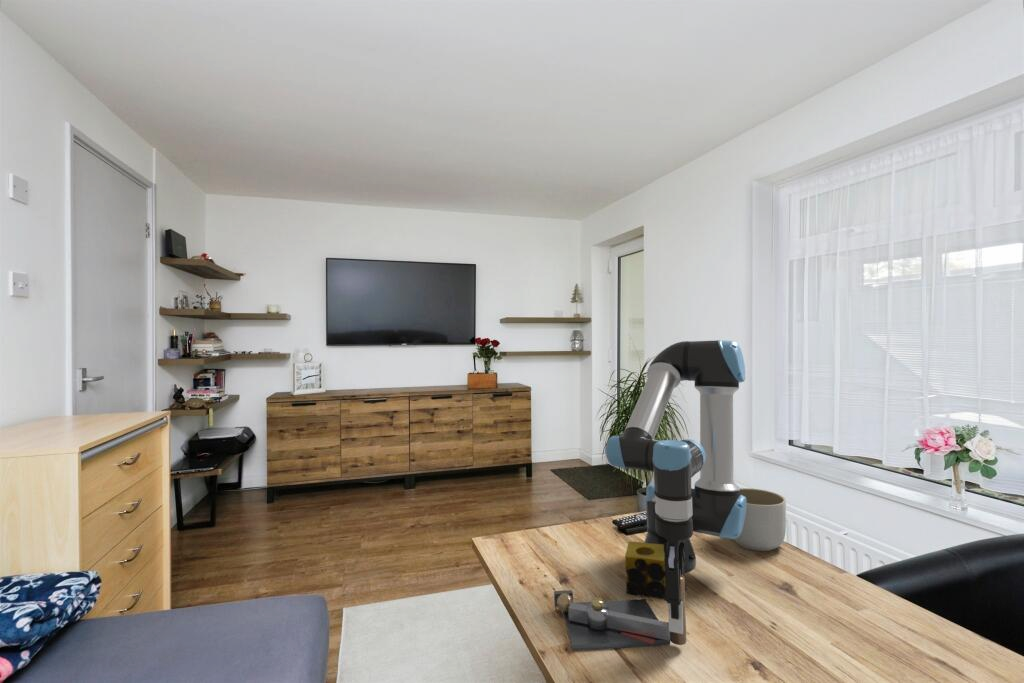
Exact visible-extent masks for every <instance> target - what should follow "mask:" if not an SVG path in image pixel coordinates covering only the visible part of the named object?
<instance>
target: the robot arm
mask: <svg viewBox="0 0 1024 683" xmlns="http://www.w3.org/2000/svg"><path fill="white" fill-rule="evenodd" d="M646 376H647V379H646V382H645V384H644V385H643V389H642V390H641V393H640V395H639V397H638V399H637V401H636V404H635V406H634V408H633V410H632V413H631V415H630V417H629V420H628V421H627V424H626V427H625V429H624V431H623V433H622V435H612V436H611V437H609V438H608V439H607V443H606V446H605V447H606V448H605V455H606V456H605V457H606V458H607V462H608V463H609V465H611V466H613V467H618V468H622V469H624V470H625V469H630V470H638V471H645V472H646V471H647V472H653V482H651V483H649V484H648V485H647V486H646V488H645V489H646V490H645V491H646V492H645V494H646V496H645V501H646V504H645V505H646V531H647V532H646V536H645V538H644V542H643V543H652V544H664V553H665V559H664V561H665V570H666V593H667V597H665V598H664V599H663V601H665V602H666V603H667V605H668V606H667V608H668V609H667V611H668V622H669V631H670V632H675V633H679V634H683V611H682V600H681V574H682V575H683V576H684V577H685V573H686V572H690V571H692V570H693V569H695V568H696V566H697V560H696V558H697V557H696V553H695V550H694V548H693V545H692V542H691V538H692V536H694V533H699V534H704V535H708V536H714V537H719V538H720V539H722V538H723V539H724V538H725V539H729V540H733V539H736V538H738V537H739V536H740V534H741V532H742V529H743V525H744V521H745V515H746V507H747V504H746V501H747V500H746V497H744V496H743V495H740V488H741V487H740V486H739V485H737V483H736V482H735V480H734V477H735V476H734V394H735V393H736V392H737V391H738V390H739V389H740V383H743V382H745V380H746V367H745V361H744V355H743V351H742V348H741V347H740V345H739V343H738V342H736V341H734V340H722V339H719V340H696V341H695V340H694V341H691V340H690V341H688V340H686V341H684V340H682V341H680V342H679V341H678V342H676V343H673V344H671V345H669V346H668V347H666V348H664V349H663V350H661V351H660V352H659V353H658V354H657V355H656V356H655V357H654V358H653V360H652V361H651V362H650V364H649V366H648V368H647V371H646ZM684 381H691V382H694V388H695V389H696V390H697V391H698V393H699V394H700V396H699V410H700V411H699V413H700V414H699V415H700V417H699V422H700V423H699V426H700V427H699V428H700V429H699V430H700V431H699V437H700V438H699V442H698V441H696V440H694V439H689V438H687V439H686V438H685V439H681V440H678V439H677V440H675V439H664V440H662V439H655V437H656V435H657V433H658V430H659V427H660V425H661V421H662V419H663V416H664V414H665V412H666V409H667V407H668V404H669V402H670V399H671V396H672V394H673V390H674V389H675V388H677V387H678V386H680V383H681V382H684ZM698 473H700V474H699V478H698V480H696V481H695V482H694V488H693V487H692V478H693V477H694V476H695V475H696V474H698ZM687 590H688V585H687V584H685V591H687Z"/></svg>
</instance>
